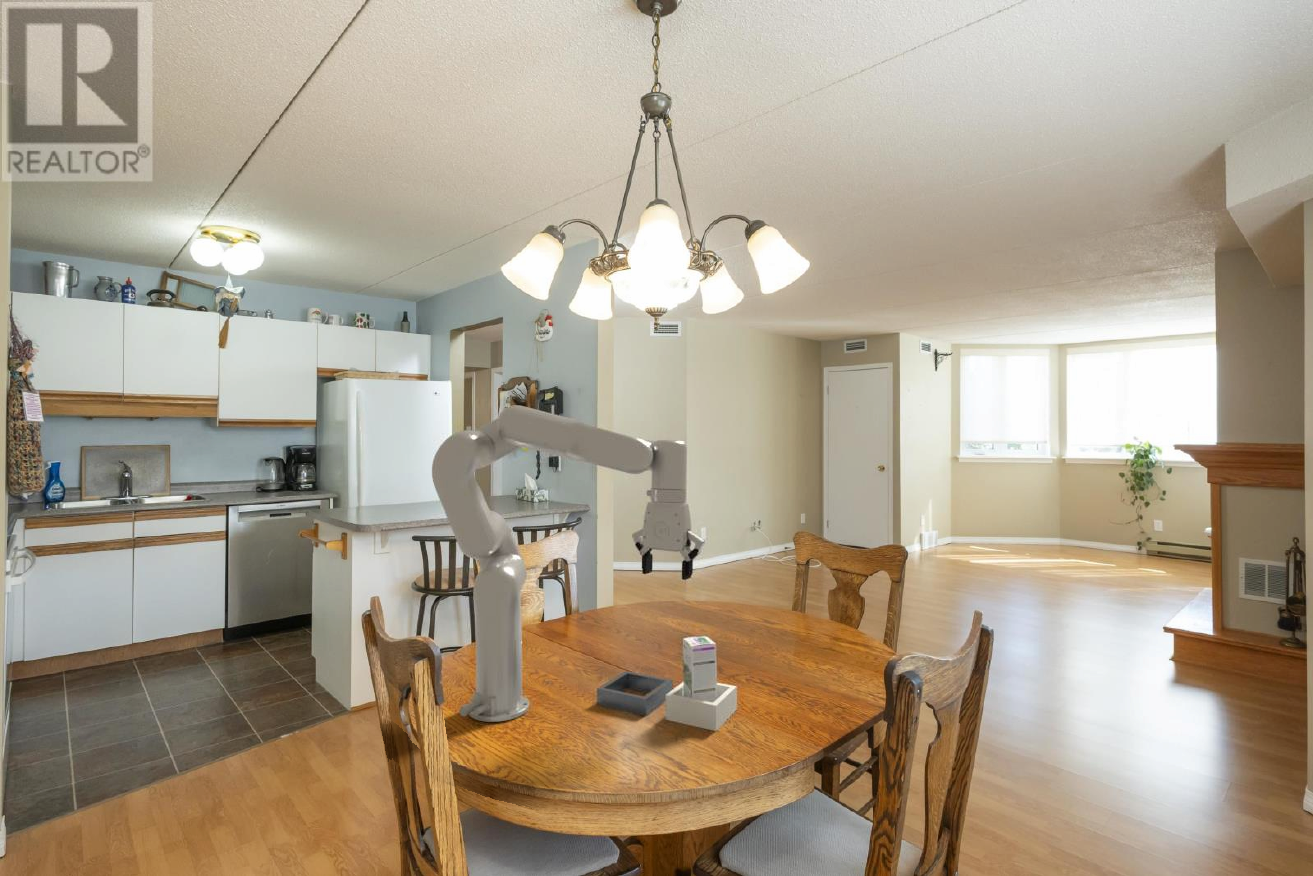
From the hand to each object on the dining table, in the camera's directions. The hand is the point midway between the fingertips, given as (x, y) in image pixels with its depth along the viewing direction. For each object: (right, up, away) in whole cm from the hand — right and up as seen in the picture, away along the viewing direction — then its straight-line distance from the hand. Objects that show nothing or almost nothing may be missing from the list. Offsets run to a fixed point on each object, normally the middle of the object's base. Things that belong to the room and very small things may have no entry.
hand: (666, 575), depth 139 cm
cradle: (+7, -28, -5) cm, 29 cm away
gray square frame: (-7, -28, +2) cm, 29 cm away
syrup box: (+7, -27, -5) cm, 28 cm away
